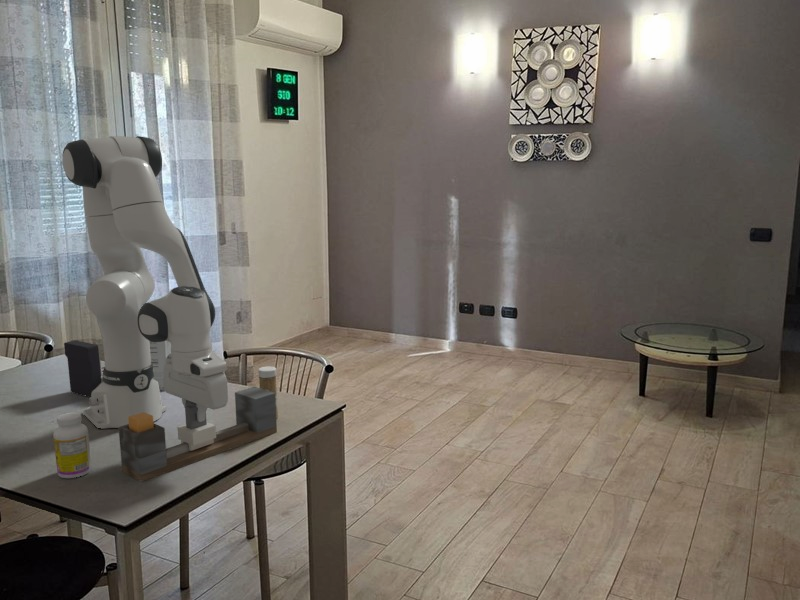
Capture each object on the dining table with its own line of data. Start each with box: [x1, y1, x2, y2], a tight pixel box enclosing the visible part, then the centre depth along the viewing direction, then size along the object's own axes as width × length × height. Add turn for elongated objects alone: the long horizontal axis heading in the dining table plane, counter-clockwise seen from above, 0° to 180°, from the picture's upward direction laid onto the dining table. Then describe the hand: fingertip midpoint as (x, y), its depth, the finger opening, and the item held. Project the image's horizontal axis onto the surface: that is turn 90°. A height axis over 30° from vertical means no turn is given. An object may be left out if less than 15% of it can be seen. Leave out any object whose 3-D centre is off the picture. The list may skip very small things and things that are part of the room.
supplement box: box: [150, 341, 171, 391], centre depth 210 cm, size 10×9×17 cm
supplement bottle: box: [52, 411, 92, 479], centre depth 150 cm, size 7×7×13 cm
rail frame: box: [118, 386, 278, 482], centre depth 162 cm, size 8×36×10 cm, turn 139°
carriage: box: [177, 401, 217, 451], centre depth 160 cm, size 6×6×10 cm
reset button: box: [128, 412, 155, 433], centre depth 150 cm, size 4×4×5 cm
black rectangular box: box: [63, 339, 103, 398], centre depth 202 cm, size 11×4×15 cm, turn 58°
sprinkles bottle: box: [257, 365, 279, 420], centre depth 182 cm, size 5×5×13 cm
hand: (196, 418), depth 160 cm, fingers closed on carriage, 2 cm apart
